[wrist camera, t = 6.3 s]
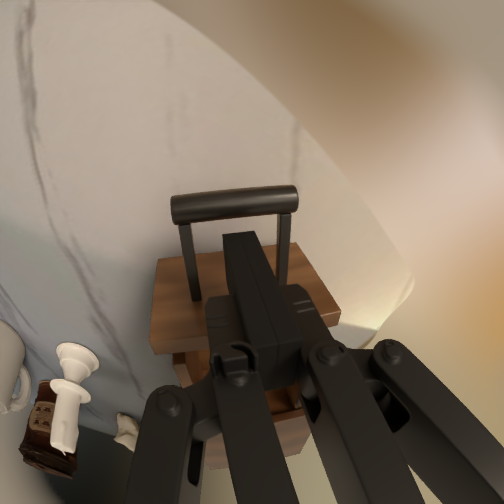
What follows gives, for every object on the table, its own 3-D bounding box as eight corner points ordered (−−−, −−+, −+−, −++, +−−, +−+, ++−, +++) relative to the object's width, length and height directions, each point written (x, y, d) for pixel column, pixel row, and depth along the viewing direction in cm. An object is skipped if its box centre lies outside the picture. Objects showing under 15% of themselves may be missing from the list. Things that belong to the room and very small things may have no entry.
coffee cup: (30, 365, 24) (10, 451, 13) (86, 386, 27) (77, 476, 16) (36, 393, 27) (24, 465, 16) (84, 410, 30) (79, 484, 19)
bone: (160, 401, 33) (170, 449, 26) (194, 436, 40) (205, 473, 33) (109, 413, 31) (113, 459, 24) (151, 446, 38) (159, 483, 31)
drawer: (142, 176, 16) (110, 231, 9) (300, 161, 18) (364, 204, 11) (188, 366, 26) (195, 433, 20) (285, 351, 28) (308, 413, 21)
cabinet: (178, 350, 26) (184, 435, 18) (289, 333, 28) (321, 410, 20) (201, 409, 34) (210, 469, 26) (281, 396, 35) (300, 453, 27)
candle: (105, 356, 25) (94, 459, 15) (91, 375, 26) (81, 465, 16) (62, 334, 22) (37, 437, 12) (52, 356, 23) (32, 446, 13)
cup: (-4, 307, 18) (-35, 370, 11) (51, 364, 24) (37, 426, 17) (-25, 322, 19) (-50, 376, 11) (25, 372, 24) (11, 425, 17)
